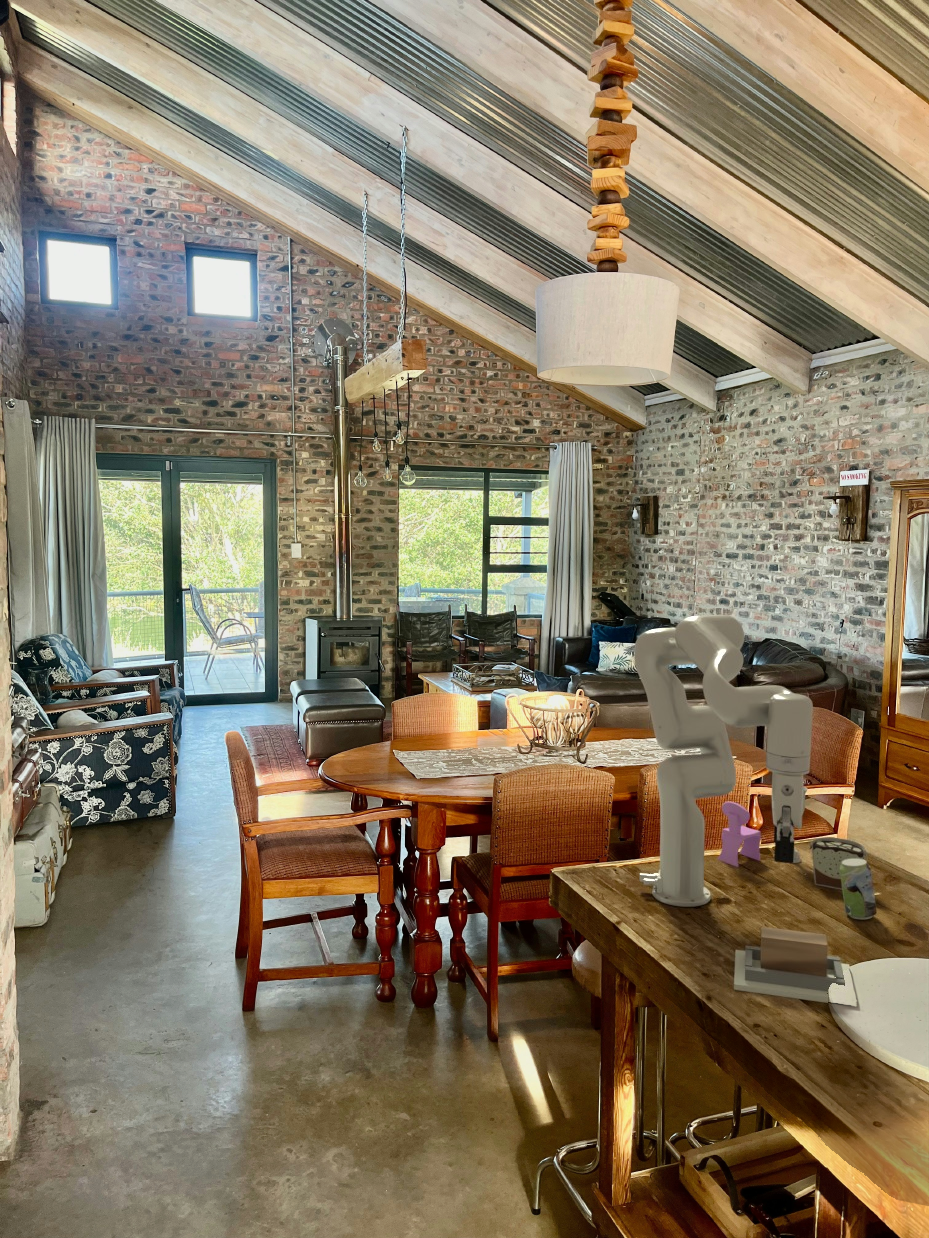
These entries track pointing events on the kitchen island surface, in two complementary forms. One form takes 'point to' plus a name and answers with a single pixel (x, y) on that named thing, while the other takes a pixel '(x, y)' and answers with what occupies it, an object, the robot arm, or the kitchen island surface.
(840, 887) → the food container
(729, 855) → the toy chair
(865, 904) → the beverage can
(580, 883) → the kitchen island surface
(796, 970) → the key block
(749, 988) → the pocket board
